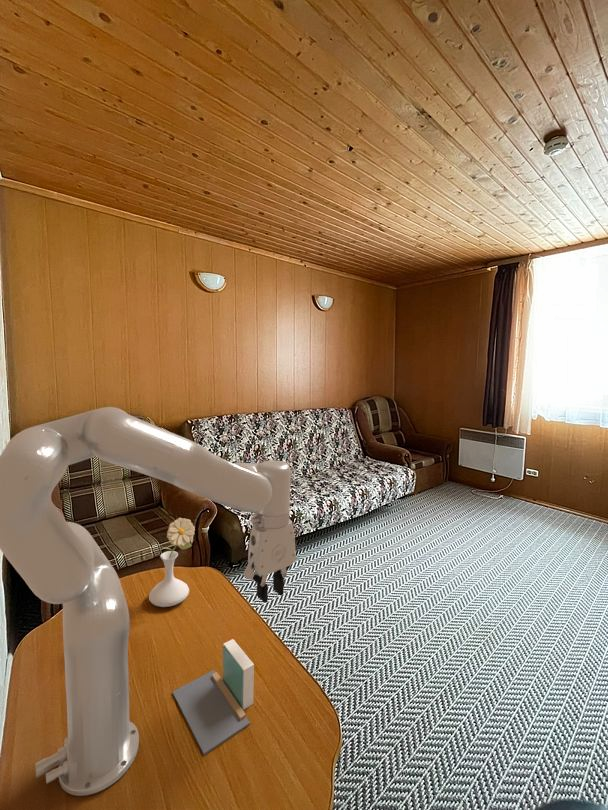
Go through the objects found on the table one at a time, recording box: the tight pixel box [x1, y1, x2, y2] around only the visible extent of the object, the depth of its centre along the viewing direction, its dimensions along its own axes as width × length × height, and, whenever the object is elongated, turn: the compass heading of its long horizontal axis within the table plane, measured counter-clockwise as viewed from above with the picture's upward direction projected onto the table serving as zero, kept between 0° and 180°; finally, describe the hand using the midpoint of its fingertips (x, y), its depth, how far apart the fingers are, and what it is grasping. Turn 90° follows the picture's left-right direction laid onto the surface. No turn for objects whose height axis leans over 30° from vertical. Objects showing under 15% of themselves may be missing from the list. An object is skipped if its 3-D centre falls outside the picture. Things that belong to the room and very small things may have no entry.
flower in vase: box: [148, 517, 196, 608], centre depth 110 cm, size 13×11×25 cm
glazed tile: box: [222, 638, 255, 711], centre depth 80 cm, size 3×9×9 cm, turn 39°
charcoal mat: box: [172, 669, 251, 756], centre depth 76 cm, size 10×16×1 cm, turn 39°
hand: (270, 594), depth 83 cm, fingers open, 3 cm apart
